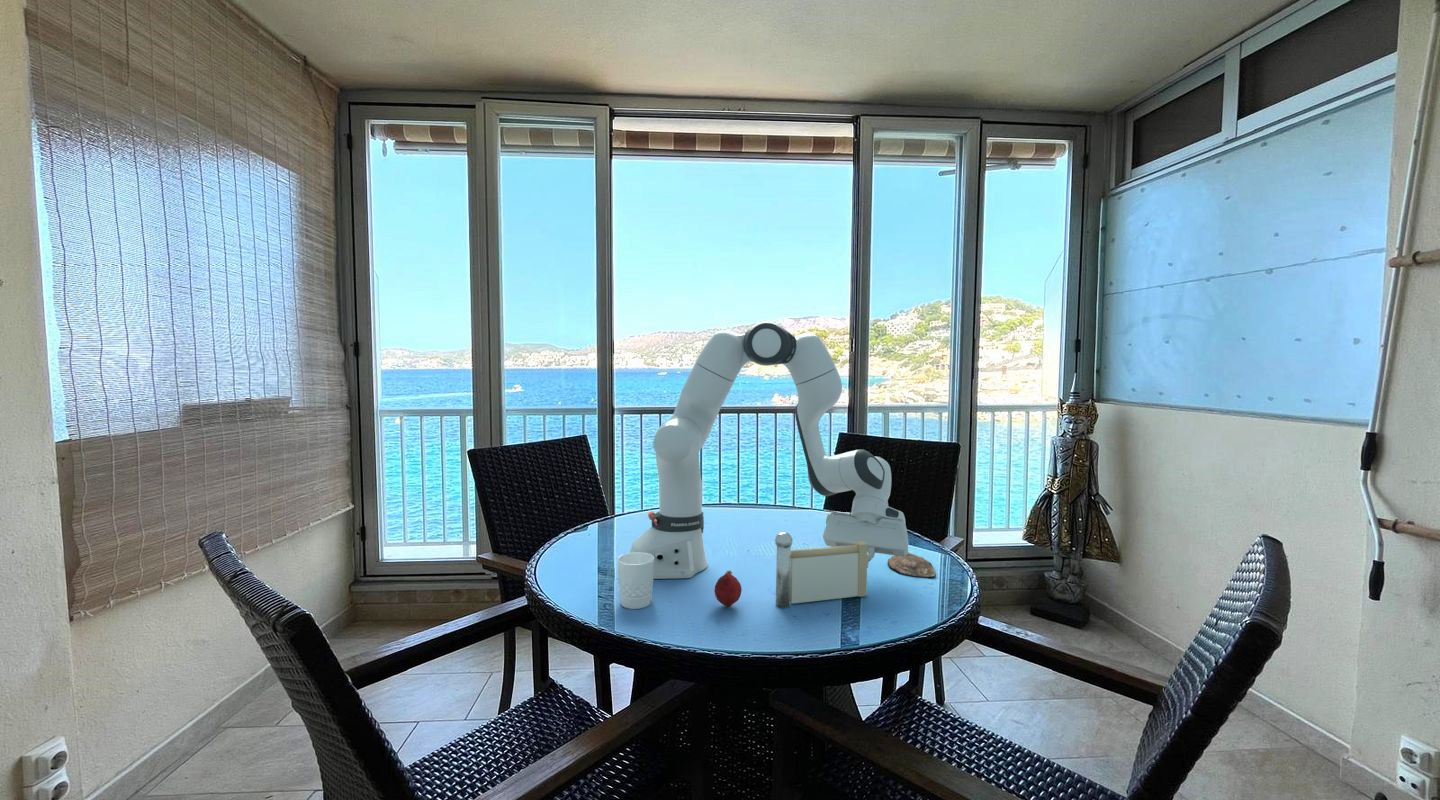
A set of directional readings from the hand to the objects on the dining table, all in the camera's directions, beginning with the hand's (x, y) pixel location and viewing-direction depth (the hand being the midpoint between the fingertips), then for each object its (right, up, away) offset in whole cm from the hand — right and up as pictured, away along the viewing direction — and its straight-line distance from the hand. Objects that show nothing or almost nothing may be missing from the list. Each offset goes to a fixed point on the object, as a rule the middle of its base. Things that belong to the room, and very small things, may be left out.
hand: (861, 566), depth 130 cm
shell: (+17, -5, +14) cm, 22 cm away
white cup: (-52, -5, -9) cm, 53 cm away
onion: (-32, -6, -11) cm, 34 cm away
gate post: (-20, -6, -10) cm, 23 cm away
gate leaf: (-9, -5, -7) cm, 13 cm away
